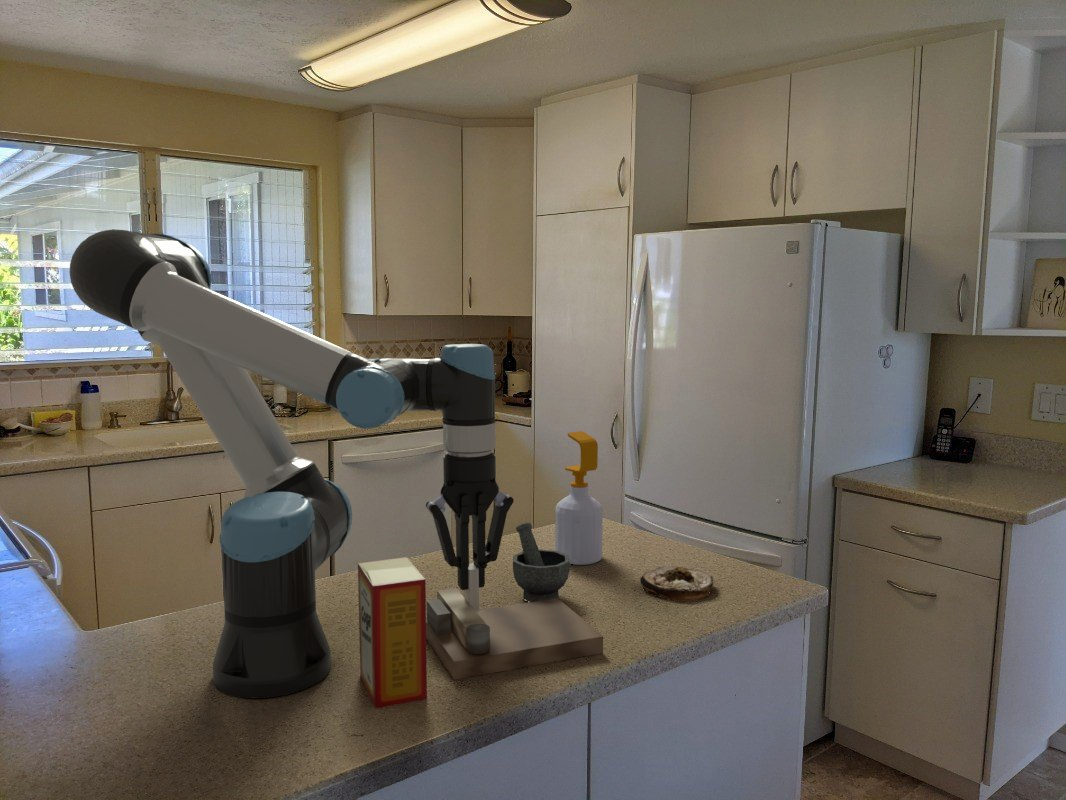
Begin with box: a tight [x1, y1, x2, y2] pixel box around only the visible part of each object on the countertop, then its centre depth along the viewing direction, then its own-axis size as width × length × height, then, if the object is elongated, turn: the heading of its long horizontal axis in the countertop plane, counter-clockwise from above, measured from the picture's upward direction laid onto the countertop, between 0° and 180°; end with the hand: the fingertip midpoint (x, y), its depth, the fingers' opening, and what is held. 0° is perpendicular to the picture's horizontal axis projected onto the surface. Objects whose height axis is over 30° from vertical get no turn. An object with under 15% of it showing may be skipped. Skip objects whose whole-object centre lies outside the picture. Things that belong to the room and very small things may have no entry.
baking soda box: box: [357, 556, 428, 709], centre depth 107 cm, size 10×6×16 cm
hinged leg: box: [436, 587, 490, 654], centre depth 119 cm, size 18×3×3 cm, turn 21°
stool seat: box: [426, 598, 604, 680], centre depth 121 cm, size 22×16×6 cm
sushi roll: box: [640, 565, 714, 602], centre depth 144 cm, size 15×15×4 cm
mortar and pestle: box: [512, 522, 571, 602], centre depth 139 cm, size 11×9×12 cm
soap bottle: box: [554, 430, 604, 566], centre depth 159 cm, size 9×9×25 cm
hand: (471, 609), depth 122 cm, fingers closed
